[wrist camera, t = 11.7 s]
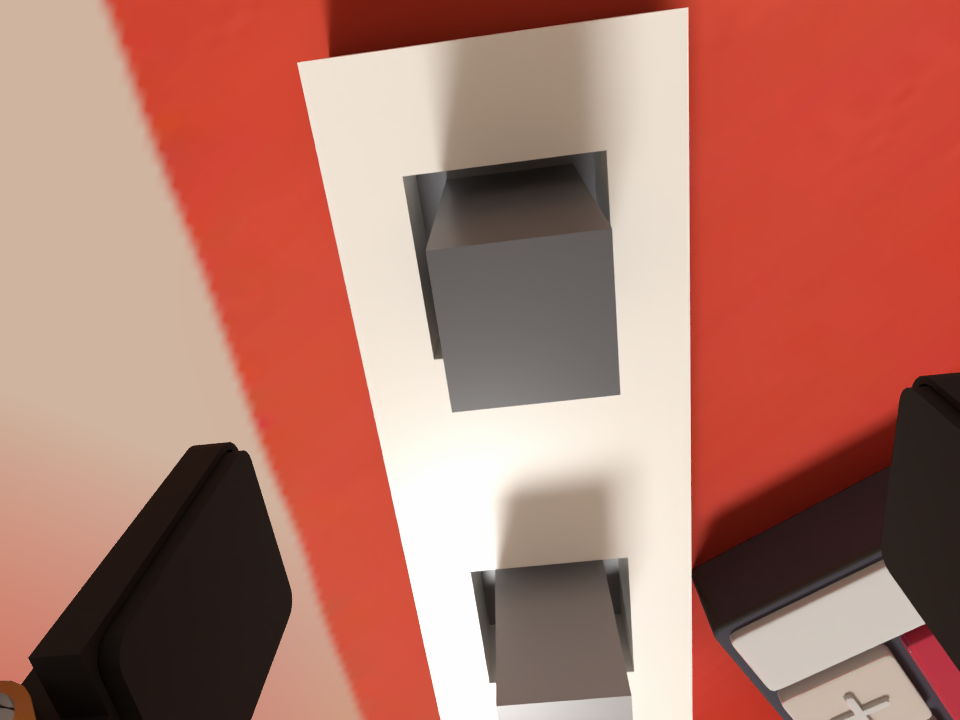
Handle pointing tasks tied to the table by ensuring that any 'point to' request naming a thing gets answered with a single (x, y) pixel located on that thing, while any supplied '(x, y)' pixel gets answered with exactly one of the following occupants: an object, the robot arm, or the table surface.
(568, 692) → the grey square peg
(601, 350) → the plug
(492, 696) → the power strip
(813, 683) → the calculator
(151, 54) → the table surface
